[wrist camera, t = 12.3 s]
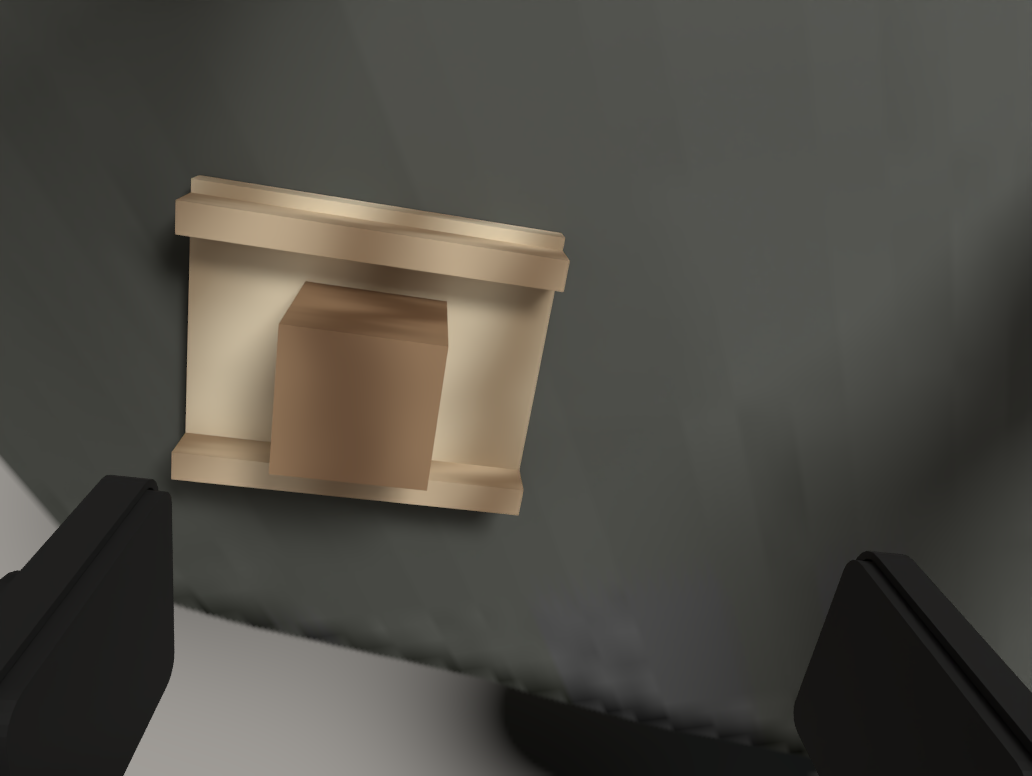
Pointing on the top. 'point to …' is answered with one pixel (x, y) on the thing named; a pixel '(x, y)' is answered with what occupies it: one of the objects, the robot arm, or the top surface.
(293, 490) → the board
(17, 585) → the robot arm
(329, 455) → the walnut block
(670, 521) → the top surface
